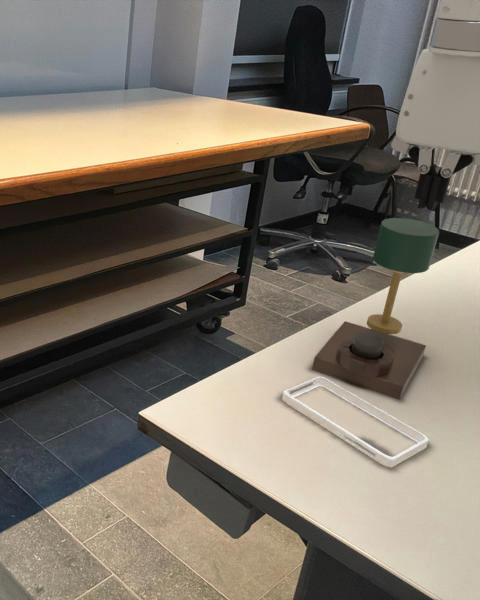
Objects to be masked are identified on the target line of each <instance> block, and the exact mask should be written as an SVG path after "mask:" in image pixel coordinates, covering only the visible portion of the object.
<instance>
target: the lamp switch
mask: <svg viewBox="0 0 480 600" xmlns="http://www.w3.org/2000/svg"><path fill="white" fill-rule="evenodd" d="M383 346H384V341H383V340H382V339H381V338H380V337H378V336H376V335H373V334H368V333H359V334H356V335H355V336H354V339H353V343H352V347H351V353H353V354H354V355H356V356H358V357H361V358H364V359H370V360H377V359H380V357H381V354H382V350H383Z"/></svg>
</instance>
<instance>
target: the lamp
mask: <svg viewBox="0 0 480 600" xmlns="http://www.w3.org/2000/svg"><path fill="white" fill-rule="evenodd" d="M439 235H440V230H439V229H438V228H437V227H436V226H434V225H433V224H430V223H428V222H425V221H421V220H416V219H412V218H406V217H404V218H403V217H391V218H389V217H388V218H385V219H383V220H381V222H380V227H379V232H378V235H377V240H376V243H375V247H374V252H373V256H372V261H373V262H374V263H375V264H377V265H378V266H380V267H382V268H385V269H388V270H390V271H392V272H393V273H392V277H391V281H390V285H389V289H388V293H387V296H386V300H385V304H384V308H383V311H382V313H381V314H378V313H376V314H370V315H369V316H368V317H367V320H366V325H367V328H370V329H372V330H374V331H377V332H380V333H384V334H390V335H396V334H399V333H400V332H401V331H402V328H403V323H402V322H401V321H400V320H399V319H397V318H395V317H393V316H392V312H393V309H394V306H395V305H394V304H395V301H396V298H397V294H398V290H399V286H400V283H401V278H402V275H403V274H405V273H406V274H421V273H425V272H427V271H428V270H429V269H430V266H431V264H432V263H431V262H432V259H433V255H434V251H435V249H436V246H437V241H438V238H439Z"/></svg>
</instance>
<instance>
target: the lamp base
mask: <svg viewBox="0 0 480 600" xmlns="http://www.w3.org/2000/svg"><path fill="white" fill-rule="evenodd" d="M359 333H368V334H373V335H376V336H378V337H380V338H381V339H382V340H383V341H384V346H383V350H382V354H381V357H380V359H377V360H370V359H364V358H361V357H358V356H356V355H354V354H353V353H351V347H352V343H353V339H354V336H355V335H356V334H359ZM426 347H427V345H426V344H422V343H419V342H416V341H413V340H410V339H407V338H403V337H399V336H396V335H394V334H384V333H380V332H377V331H374V330H372V329H371V328H369V327H366V326H363V325H360V324H356V323H352V322H349V321H346V320H345V321H343V323H342V324H341V325H340V326H339V327H338V329H337V330H336V331H335V332H334V333H333V335H332V336H331V337H330V338H329V339H328V341H327V342H326V343H325V344H324V345H323V346H322V347H321V349H319V351H318V352H317V354H316V355H314V358H313V363H312V367H311V370H312V371H315V372H318V373H319V374H320V373H321V374H323V375H327V376H330V377H332V378H335V379H338V380H340V381H344V382H347V383H349V384H352V385H356V386H358V387H361V388H363V389H367V390H370V391H373V392H375V393H379V394H382V395H385V396H388V397H391V398H394V399H396V400H399V401H400V400H401V398H402V396H403V395H404V393H405V391H406V389H407V387H408V385H409V383H410V382H411V380H412V378H413V376H414V374H415V372H416V370H417V369H418V367H419V365H420V363H421V362H422V359H423V357H424V354H425V351H426Z"/></svg>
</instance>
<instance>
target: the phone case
mask: <svg viewBox="0 0 480 600" xmlns="http://www.w3.org/2000/svg"><path fill="white" fill-rule="evenodd" d="M311 383H312V384H311ZM309 384H311V385H309ZM307 385H308V386H307ZM302 387H303V388H302ZM319 387H322V388H324V389H326V390H328V391H330V392H331V393H333V394H335V395H336V396H338V397H340V398H341V399H343V400H345V401H346V402H348V403H349V404H352V405H353V406H354V407H356V408H358V409H360V410H361V411H364V412H366V414H368V415H370V416H372V417H374V418H375V419H377V420H379V421H380V422H382V423H384V424H385V425H387V426H389V427H391V428H392V429H394V430H395V431H397V432H399V433H401V434H402V435H404V436H406V437H407V438H408V439H411V440H413V441H414V442H416V443H415V444H414V445H412V446H410V447H408V448H407V449H404V450H403V451H401V452H399V453H397V454H396V455H394V456H391V455H387V454H385V453H384V452H381V451H380V450H378V449H377V448H376V447H373V446H372V445H371V444H369V443H367V442H366V441H364V440H362V439H361V438H359V437H357V436H356V435H355V434H353V433H352V432H350V431H348V430H347V429H345V428H343V427H342V426H340V425H339V424H337V423H335V422H334V421H332V420H331V419H329V418H328V417H326V416H324V415H322V414H321V413H320V412H318V411H316V410H315V409H313V408H311V406H308V405H307V404H305V403H304V402H302V401H300V400H299V399H297V398H296V397H298V396H300V395H303V394H304V393H307V392H309V391H311V390H313V389H316V388H319ZM300 388H301V389H300ZM297 389H299V390H297ZM295 390H296V391H295ZM293 391H294V392H293ZM281 398H282V399H281V400H282V401H283V402H284V403H285V404H287V405H288V406H289V407H291V408H293V409H295V410H296V411H298V412H299V413H301V414H302V415H303V416H306V417H307V418H308V419H310V420H311V421H313V422H315V424H317V425H319V426H321V427H322V428H324V429H325V430H327V431H329V432H330V433H332V434H333V435H335V436H336V437H338V438H340V439H341V440H343V441H344V442H346V443H348V444H349V445H350V446H352V447H354V448H355V449H357V450H358V451H360V452H362V453H363V454H365V455H366V456H368V457H369V458H371V459H373V460H374V461H375V462H377V463H379V464H380V465H382V466H383V467H386V468H390V469H391V468H394V467H395V466H397V465H399V464H400V463H402V462H404V461H406V460H408V459H409V458H411V457H413V456H414V455H416V454H418V453H420V452H422V451H423V450H425V449H427V446H428V444H429V440H430V439H429V438H428V436H427V435H426V434H423V433H422V432H420V431H419V430H417V429H415V428H414V427H412V426H410V425H408V424H407V423H405V422H403V421H402V420H399V419H398V418H396V417H394V416H393V415H391V414H389V413H388V412H386V411H384V410H382V409H380V408H378V407H377V406H375V405H374V404H372V403H371V402H368V401H366V400H364V399H363V398H361V397H360V396H358V395H356V394H354V393H352V392H351V391H349V390H347V389H346V388H344V387H342V386H340V385H338V384H336V383H335V382H334V381H332V380H330V379H328V378H326V377H324V376H320V375H319V376H316V377H313V378H311V379H309V380H306V381H303V382H301V383H299V384H297V385H295V386H292V387H290V388H287V389H284V390H283V392H282V397H281ZM348 438H349V439H348ZM353 441H354V442H353ZM356 443H357V444H356ZM361 446H362V447H361ZM364 448H365V449H364ZM372 453H373V454H372Z"/></svg>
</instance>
